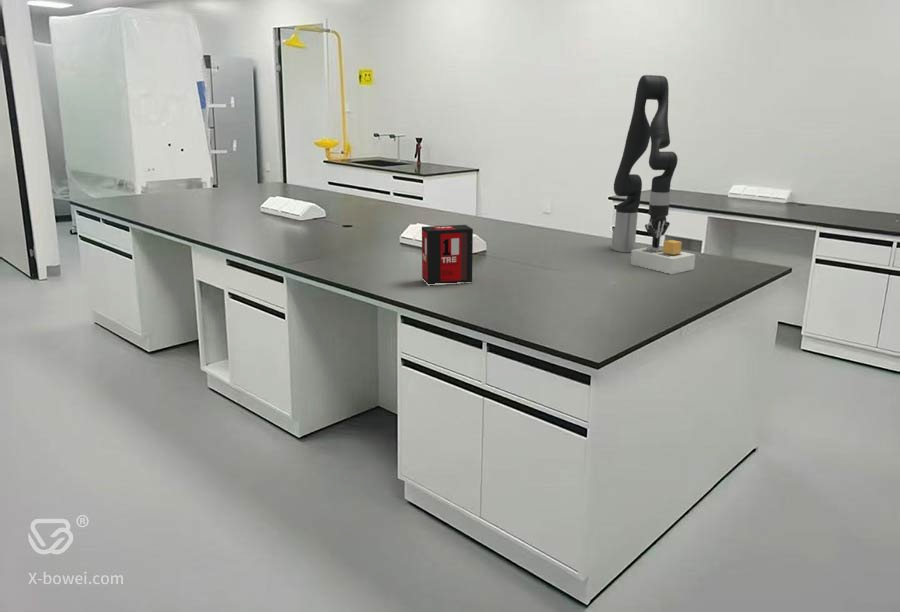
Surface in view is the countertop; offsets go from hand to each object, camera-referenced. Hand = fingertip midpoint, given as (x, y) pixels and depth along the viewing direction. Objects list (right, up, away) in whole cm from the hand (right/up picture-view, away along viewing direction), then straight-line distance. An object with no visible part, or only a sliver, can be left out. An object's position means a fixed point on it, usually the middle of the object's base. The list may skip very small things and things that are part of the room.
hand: (655, 246), depth 274 cm
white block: (0, -4, +1) cm, 4 cm away
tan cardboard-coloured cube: (+5, -3, -6) cm, 8 cm away
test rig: (+2, -8, -1) cm, 9 cm away
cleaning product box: (-84, -15, -24) cm, 88 cm away
